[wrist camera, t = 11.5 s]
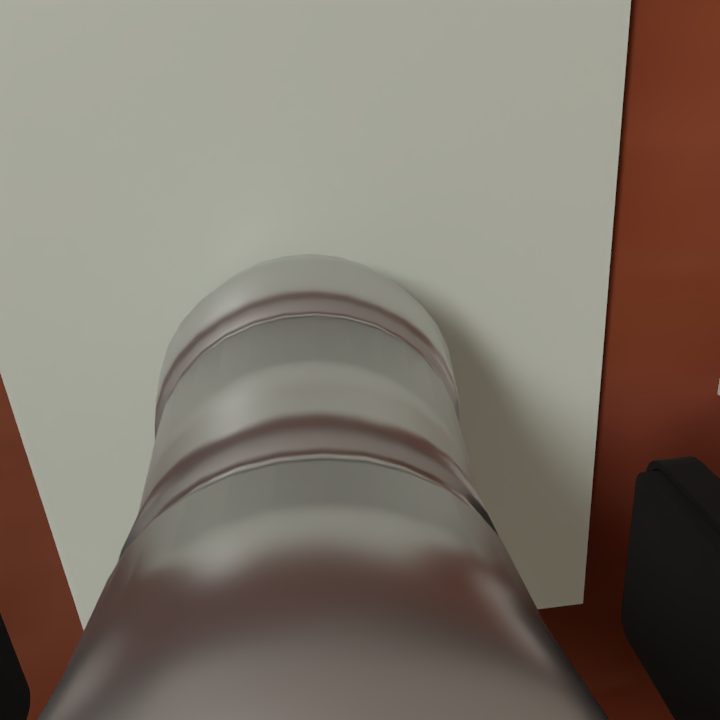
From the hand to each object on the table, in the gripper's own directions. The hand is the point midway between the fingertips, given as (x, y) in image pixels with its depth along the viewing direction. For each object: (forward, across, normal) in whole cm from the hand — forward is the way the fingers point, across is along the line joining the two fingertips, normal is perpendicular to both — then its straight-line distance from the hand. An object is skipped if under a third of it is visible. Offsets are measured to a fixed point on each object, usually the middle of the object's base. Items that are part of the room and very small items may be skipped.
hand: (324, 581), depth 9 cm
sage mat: (+9, 0, 0) cm, 9 cm away
